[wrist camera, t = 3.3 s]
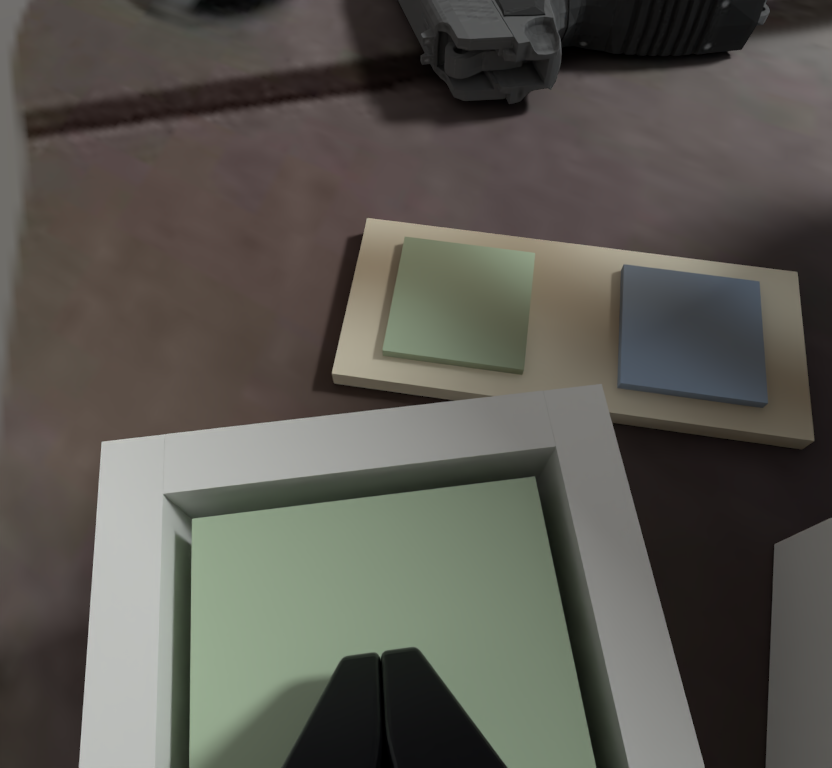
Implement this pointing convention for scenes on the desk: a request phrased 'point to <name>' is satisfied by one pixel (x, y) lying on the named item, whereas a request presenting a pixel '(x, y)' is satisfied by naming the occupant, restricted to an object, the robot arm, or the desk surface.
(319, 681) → the green key
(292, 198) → the desk surface
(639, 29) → the handgun
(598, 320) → the board
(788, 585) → the keypad
